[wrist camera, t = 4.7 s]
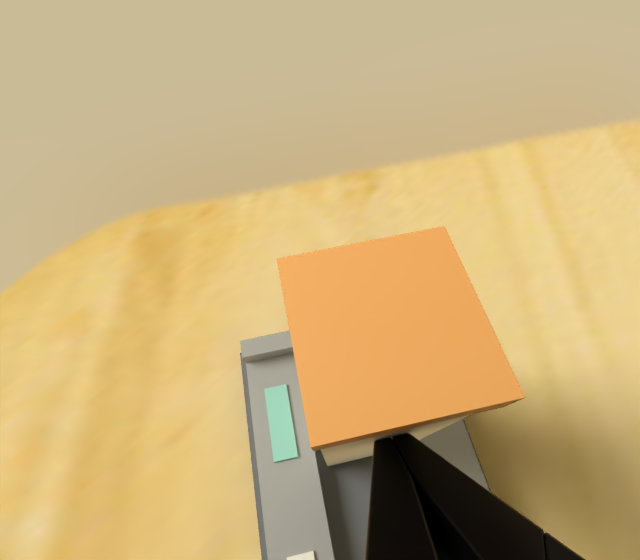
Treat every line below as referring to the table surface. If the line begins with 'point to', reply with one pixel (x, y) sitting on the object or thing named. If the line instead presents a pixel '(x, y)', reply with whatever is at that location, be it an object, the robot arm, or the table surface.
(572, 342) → the table surface
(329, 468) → the console
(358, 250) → the fader knob
